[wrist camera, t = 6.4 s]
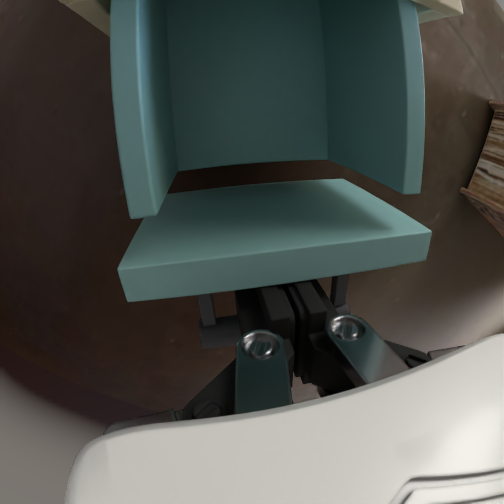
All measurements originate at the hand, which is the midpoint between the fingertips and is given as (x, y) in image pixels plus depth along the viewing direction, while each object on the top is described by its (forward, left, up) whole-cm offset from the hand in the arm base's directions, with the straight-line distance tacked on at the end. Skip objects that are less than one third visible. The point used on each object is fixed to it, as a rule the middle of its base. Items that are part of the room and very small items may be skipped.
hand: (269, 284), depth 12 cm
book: (+30, 0, -6) cm, 30 cm away
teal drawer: (0, +5, -5) cm, 8 cm away
